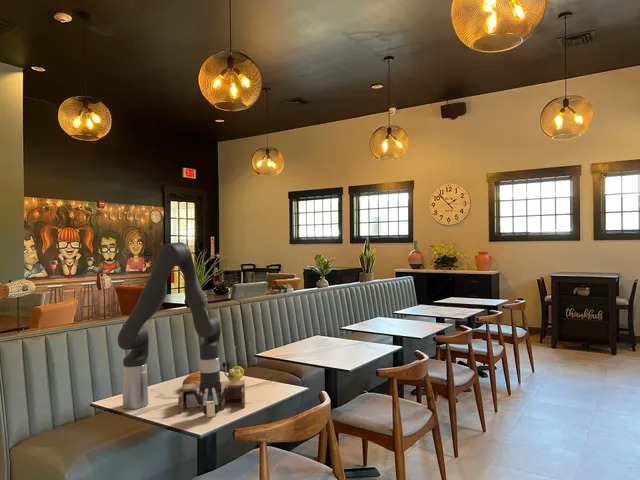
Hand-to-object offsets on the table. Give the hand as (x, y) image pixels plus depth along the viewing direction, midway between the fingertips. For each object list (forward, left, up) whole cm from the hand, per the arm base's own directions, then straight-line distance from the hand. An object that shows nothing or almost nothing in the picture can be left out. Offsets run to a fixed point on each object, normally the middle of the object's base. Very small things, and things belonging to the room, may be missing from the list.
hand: (211, 413), depth 181 cm
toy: (+8, +29, -1) cm, 30 cm away
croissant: (-8, +37, -1) cm, 38 cm away
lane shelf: (0, +11, -1) cm, 11 cm away
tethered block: (0, +7, -1) cm, 8 cm away
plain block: (-8, +14, -1) cm, 16 cm away
